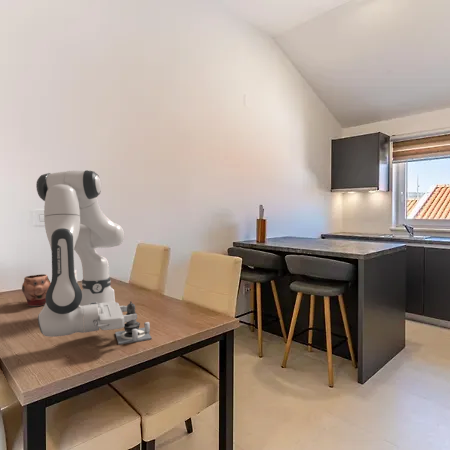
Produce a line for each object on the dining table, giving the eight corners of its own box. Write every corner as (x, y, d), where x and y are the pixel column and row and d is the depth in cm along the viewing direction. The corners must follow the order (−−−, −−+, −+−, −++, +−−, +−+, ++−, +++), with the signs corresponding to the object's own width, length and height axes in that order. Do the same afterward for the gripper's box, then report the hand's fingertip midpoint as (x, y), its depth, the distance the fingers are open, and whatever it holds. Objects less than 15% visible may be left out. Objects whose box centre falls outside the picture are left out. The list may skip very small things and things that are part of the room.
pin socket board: (115, 333, 123) (114, 322, 123) (146, 328, 128) (146, 317, 128) (118, 345, 112) (118, 333, 112) (153, 339, 117) (152, 327, 117)
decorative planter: (18, 302, 167) (16, 274, 167) (45, 297, 176) (44, 270, 175) (28, 310, 153) (26, 280, 152) (57, 305, 161) (56, 276, 160)
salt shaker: (142, 331, 123) (141, 298, 122) (138, 337, 117) (136, 303, 116) (126, 331, 123) (125, 298, 122) (121, 337, 117) (119, 303, 116)
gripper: (93, 317, 105) (139, 311, 110) (91, 301, 124) (130, 296, 129) (94, 337, 105) (139, 330, 111) (92, 318, 124) (131, 312, 129)
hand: (134, 312), depth 120 cm, fingers open, 8 cm apart
